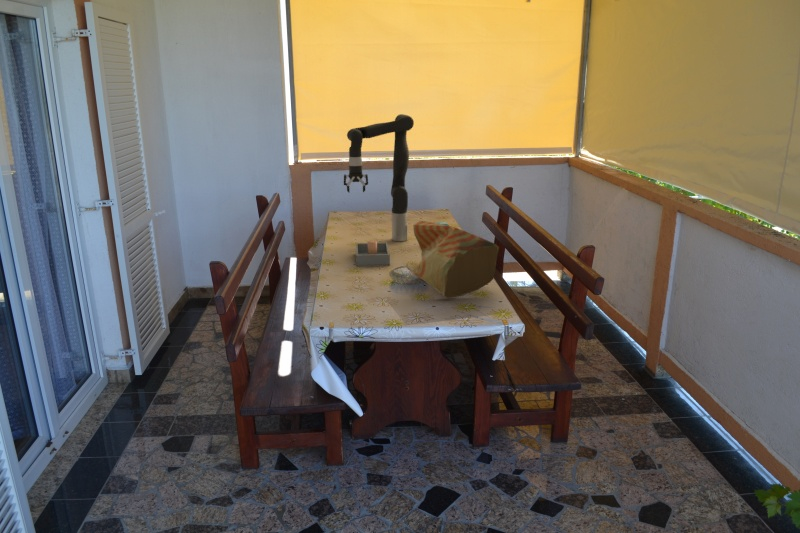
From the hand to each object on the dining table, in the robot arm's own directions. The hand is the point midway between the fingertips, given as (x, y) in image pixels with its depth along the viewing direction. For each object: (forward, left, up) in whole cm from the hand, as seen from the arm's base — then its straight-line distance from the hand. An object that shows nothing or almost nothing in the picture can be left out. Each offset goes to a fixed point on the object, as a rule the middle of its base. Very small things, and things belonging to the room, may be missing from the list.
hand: (356, 192), depth 373 cm
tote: (-8, +30, -32) cm, 45 cm away
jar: (-8, +30, -31) cm, 44 cm away
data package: (-49, -1, -32) cm, 59 cm away
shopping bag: (-44, +78, -32) cm, 95 cm away
